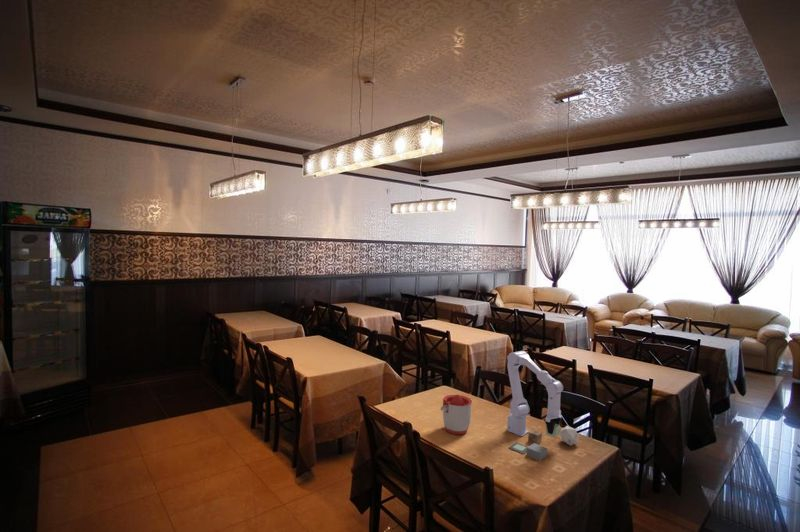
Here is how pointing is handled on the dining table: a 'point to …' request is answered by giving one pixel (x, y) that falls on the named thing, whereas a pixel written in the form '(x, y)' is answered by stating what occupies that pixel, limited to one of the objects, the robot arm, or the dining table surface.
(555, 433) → the sage block
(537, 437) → the walnut block
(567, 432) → the grey rock
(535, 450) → the slate base
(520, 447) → the grey square plate
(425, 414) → the dining table surface
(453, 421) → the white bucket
